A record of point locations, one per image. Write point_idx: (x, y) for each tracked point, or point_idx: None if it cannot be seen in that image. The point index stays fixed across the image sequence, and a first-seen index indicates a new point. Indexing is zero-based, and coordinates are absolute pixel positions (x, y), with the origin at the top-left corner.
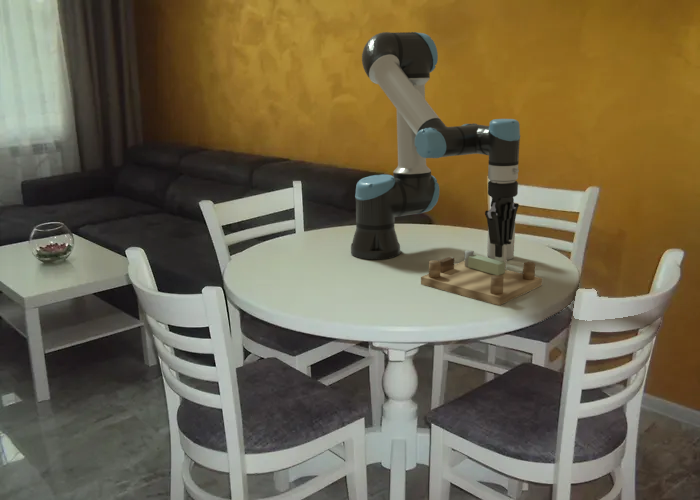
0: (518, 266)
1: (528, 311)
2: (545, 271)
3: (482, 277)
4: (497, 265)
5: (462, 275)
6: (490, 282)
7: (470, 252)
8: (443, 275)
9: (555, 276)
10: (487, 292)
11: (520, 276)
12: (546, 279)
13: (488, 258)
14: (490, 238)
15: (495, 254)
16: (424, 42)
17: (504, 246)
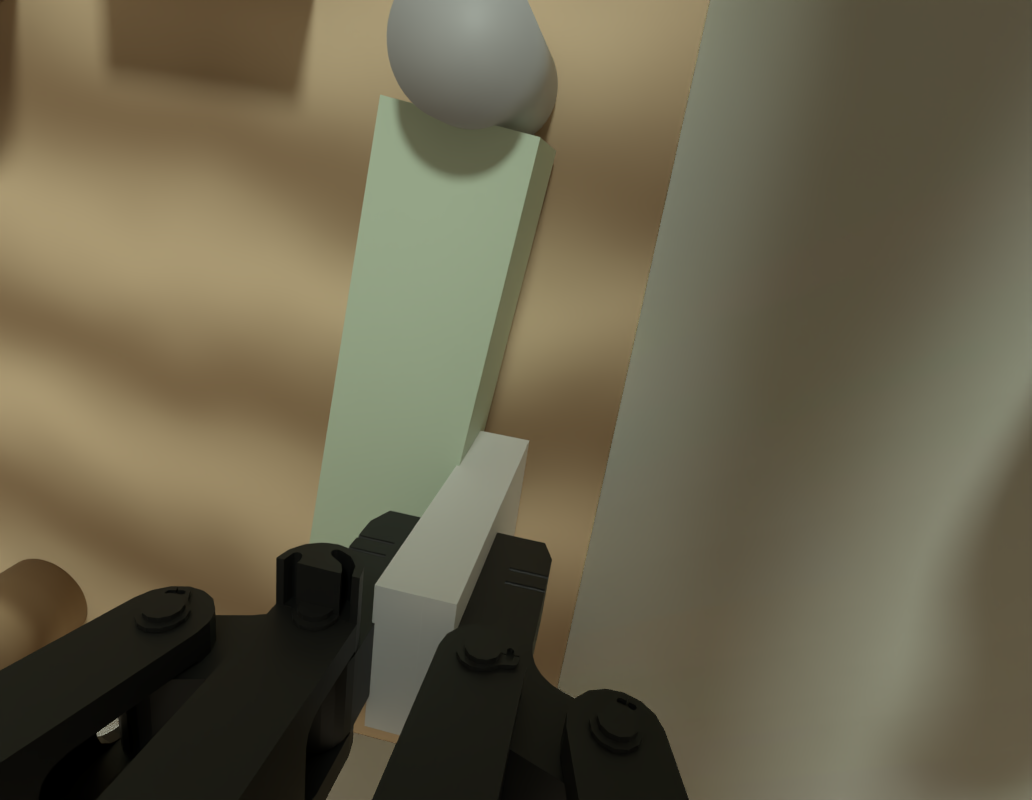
0: (1017, 455)
1: None
2: (936, 692)
3: (260, 386)
4: (315, 539)
5: (187, 192)
6: (195, 491)
7: (429, 81)
8: (54, 10)
9: (819, 772)
10: (5, 545)
11: None
12: (706, 732)
13: (457, 379)
14: (35, 672)
15: (367, 530)
16: None
17: (373, 716)
